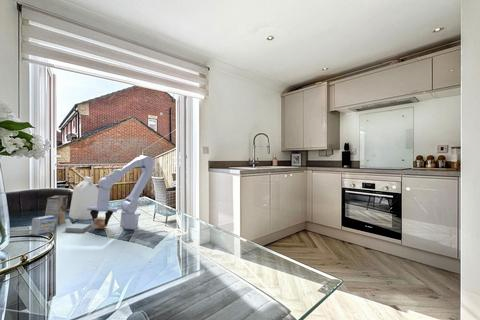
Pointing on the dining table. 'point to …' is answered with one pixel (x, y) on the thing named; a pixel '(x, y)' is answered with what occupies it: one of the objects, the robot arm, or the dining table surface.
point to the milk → (83, 199)
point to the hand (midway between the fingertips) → (100, 224)
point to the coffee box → (57, 208)
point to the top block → (77, 228)
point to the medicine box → (42, 225)
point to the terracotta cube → (99, 222)
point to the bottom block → (78, 232)
